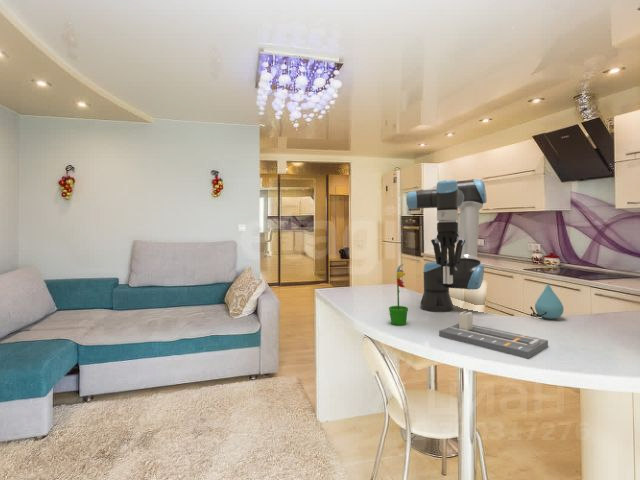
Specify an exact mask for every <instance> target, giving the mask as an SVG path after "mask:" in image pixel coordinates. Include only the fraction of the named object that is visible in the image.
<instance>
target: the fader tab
mask: <svg viewBox="0 0 640 480" xmlns="http://www.w3.org/2000/svg"><path fill="white" fill-rule="evenodd" d="M458 314H459V315H458V324H459V329H462V330H467V331H468V330H471V329H473V325H474V324H473V318H474V317H473V312H471V311H461V312H459V313H458Z"/></svg>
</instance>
